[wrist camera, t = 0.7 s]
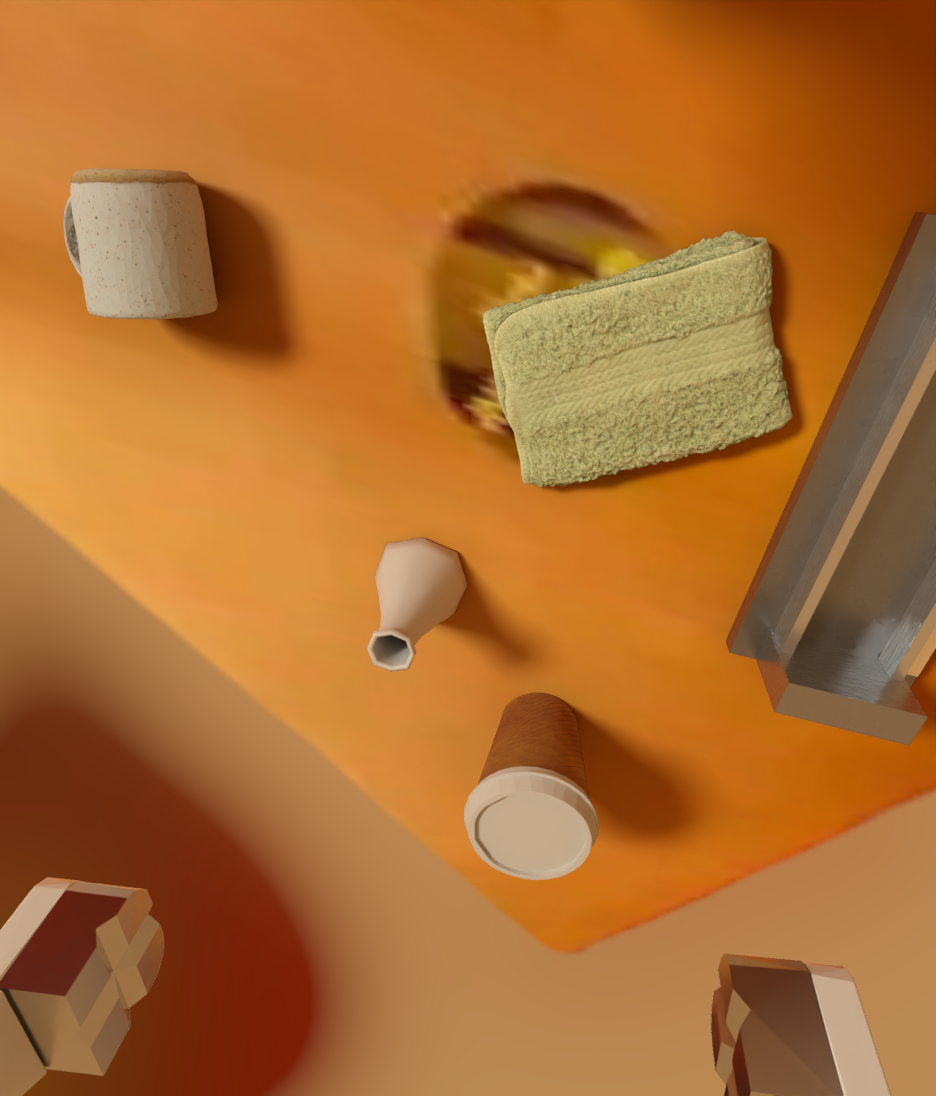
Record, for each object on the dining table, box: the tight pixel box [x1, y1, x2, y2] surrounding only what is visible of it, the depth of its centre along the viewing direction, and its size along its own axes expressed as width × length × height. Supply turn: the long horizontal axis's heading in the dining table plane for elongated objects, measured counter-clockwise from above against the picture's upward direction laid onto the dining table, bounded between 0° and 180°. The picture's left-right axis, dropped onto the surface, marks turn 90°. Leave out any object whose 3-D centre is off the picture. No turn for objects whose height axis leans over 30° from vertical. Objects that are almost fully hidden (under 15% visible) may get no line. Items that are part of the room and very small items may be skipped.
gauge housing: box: [726, 212, 936, 746], centre depth 45 cm, size 30×13×8 cm, turn 169°
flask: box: [367, 538, 467, 672], centre depth 52 cm, size 7×7×10 cm
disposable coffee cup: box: [464, 693, 599, 880], centre depth 56 cm, size 10×10×12 cm
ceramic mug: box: [64, 168, 218, 319], centre depth 45 cm, size 11×8×8 cm
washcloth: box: [483, 231, 793, 488], centre depth 46 cm, size 13×18×3 cm
